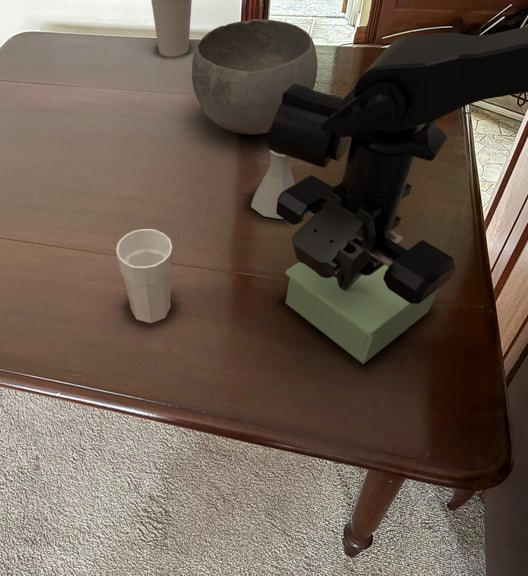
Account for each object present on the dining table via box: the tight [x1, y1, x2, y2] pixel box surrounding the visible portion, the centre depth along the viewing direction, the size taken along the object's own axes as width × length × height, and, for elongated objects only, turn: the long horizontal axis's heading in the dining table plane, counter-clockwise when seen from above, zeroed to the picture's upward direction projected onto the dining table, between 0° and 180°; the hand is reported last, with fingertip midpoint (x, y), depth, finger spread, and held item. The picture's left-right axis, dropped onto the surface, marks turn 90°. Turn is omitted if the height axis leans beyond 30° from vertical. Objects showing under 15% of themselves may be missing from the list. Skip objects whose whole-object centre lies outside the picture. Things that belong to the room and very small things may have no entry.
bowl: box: [191, 18, 318, 135], centre depth 96 cm, size 20×20×15 cm
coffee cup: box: [151, 0, 193, 58], centre depth 117 cm, size 10×10×15 cm
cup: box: [115, 228, 173, 324], centre depth 71 cm, size 7×7×11 cm
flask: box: [250, 149, 296, 220], centre depth 83 cm, size 7×7×10 cm
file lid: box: [285, 261, 412, 336], centre depth 67 cm, size 13×12×1 cm
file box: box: [285, 277, 440, 365], centre depth 70 cm, size 12×12×6 cm
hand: (344, 287), depth 66 cm, fingers closed, pressing on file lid
